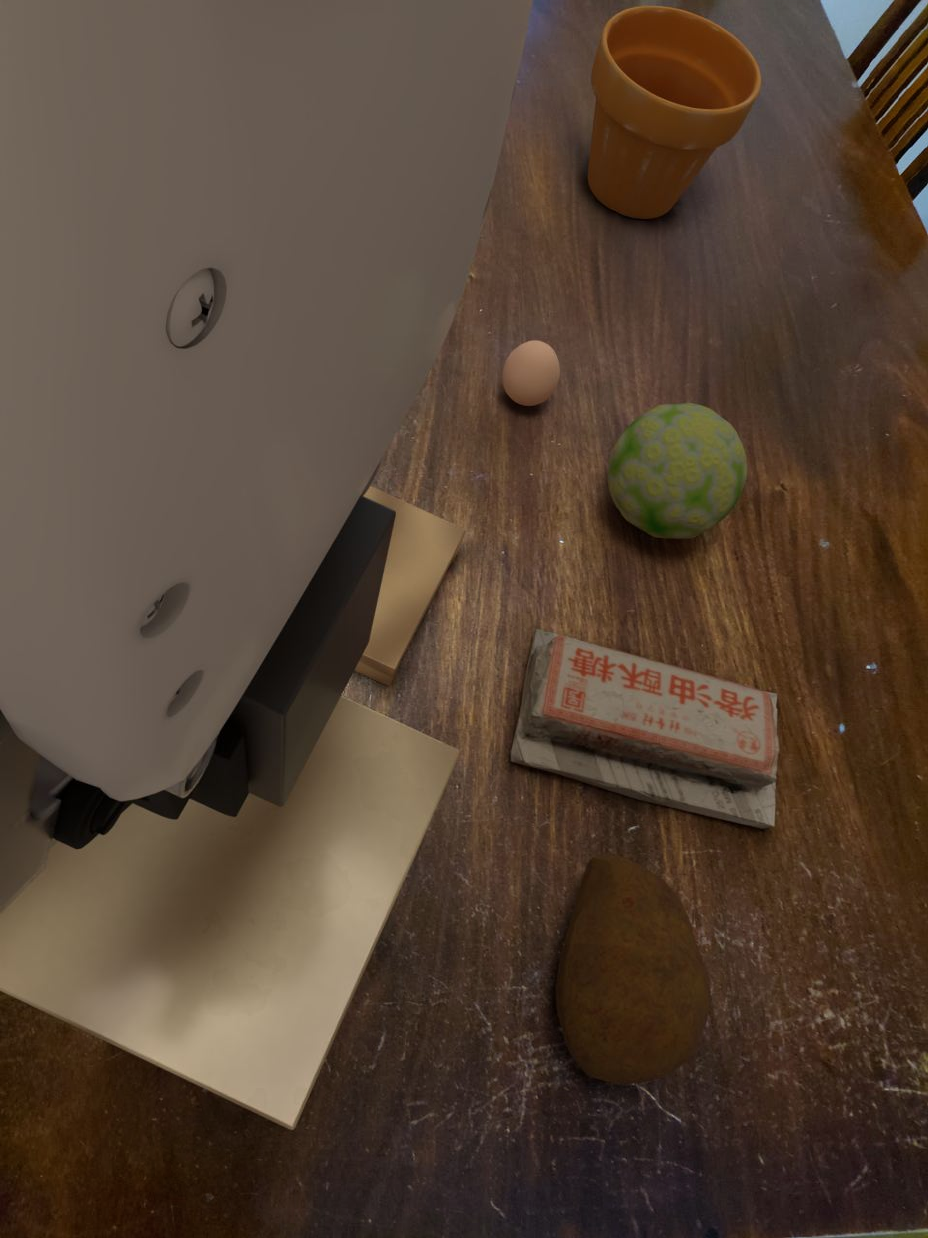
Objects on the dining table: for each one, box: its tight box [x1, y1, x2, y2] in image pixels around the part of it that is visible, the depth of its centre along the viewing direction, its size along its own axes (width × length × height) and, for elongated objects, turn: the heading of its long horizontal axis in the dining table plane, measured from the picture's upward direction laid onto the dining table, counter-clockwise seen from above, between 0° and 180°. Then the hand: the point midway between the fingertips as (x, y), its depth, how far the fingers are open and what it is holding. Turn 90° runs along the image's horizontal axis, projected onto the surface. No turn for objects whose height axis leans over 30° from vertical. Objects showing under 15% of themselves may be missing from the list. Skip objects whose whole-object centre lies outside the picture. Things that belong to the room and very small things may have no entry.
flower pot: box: [587, 5, 762, 220], centre depth 83 cm, size 14×14×13 cm
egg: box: [501, 339, 561, 407], centre depth 72 cm, size 4×4×6 cm
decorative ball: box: [607, 402, 748, 540], centre depth 67 cm, size 10×10×10 cm
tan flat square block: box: [354, 485, 467, 688], centre depth 63 cm, size 12×12×3 cm
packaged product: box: [510, 628, 781, 829], centre depth 61 cm, size 18×5×10 cm
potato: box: [555, 851, 712, 1087], centre depth 51 cm, size 8×12×9 cm
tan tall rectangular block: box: [0, 694, 461, 1131], centre depth 39 cm, size 10×11×30 cm
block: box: [228, 495, 396, 807], centre depth 18 cm, size 4×4×6 cm
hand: (235, 669), depth 20 cm, fingers closed on block, 4 cm apart
